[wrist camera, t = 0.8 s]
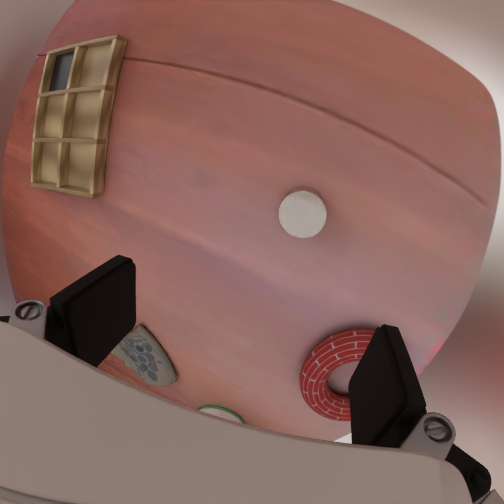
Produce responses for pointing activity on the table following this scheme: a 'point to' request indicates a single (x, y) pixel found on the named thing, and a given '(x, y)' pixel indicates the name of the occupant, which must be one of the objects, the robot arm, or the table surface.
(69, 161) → the compartment tray
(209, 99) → the table surface
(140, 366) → the ceramic fragment
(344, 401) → the torus
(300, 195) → the grey squat cylinder
